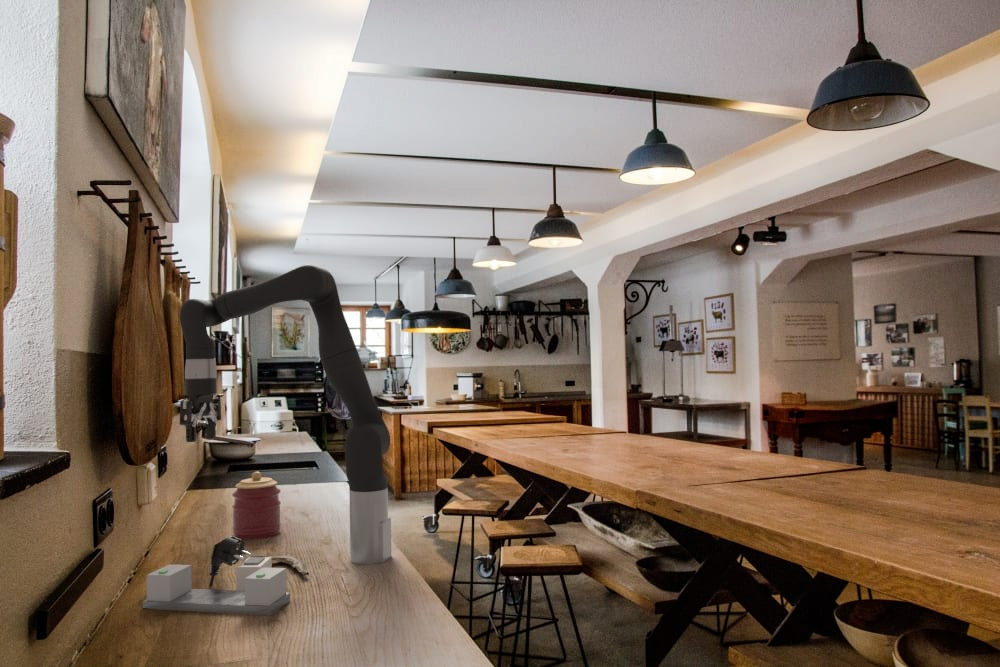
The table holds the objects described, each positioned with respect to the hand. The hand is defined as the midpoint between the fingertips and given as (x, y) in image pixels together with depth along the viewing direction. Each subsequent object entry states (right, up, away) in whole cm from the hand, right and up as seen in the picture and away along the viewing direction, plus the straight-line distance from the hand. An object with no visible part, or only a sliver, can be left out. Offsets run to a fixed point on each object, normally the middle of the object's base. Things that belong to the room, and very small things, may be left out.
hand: (201, 439), depth 179 cm
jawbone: (+24, -28, -19) cm, 42 cm away
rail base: (+21, -27, -40) cm, 53 cm away
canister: (+8, -30, +18) cm, 36 cm away
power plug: (+17, -29, -29) cm, 44 cm away
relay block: (+24, -28, -30) cm, 48 cm away
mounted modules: (+21, -25, -40) cm, 52 cm away
